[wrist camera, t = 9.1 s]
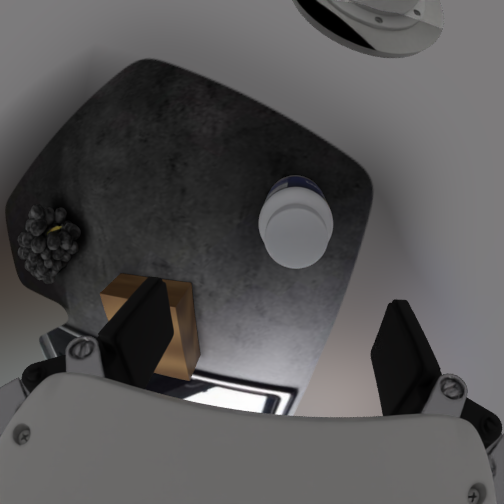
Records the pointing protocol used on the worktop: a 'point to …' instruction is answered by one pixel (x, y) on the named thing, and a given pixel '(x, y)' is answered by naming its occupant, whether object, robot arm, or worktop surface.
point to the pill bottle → (295, 222)
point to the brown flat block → (183, 317)
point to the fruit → (47, 242)
